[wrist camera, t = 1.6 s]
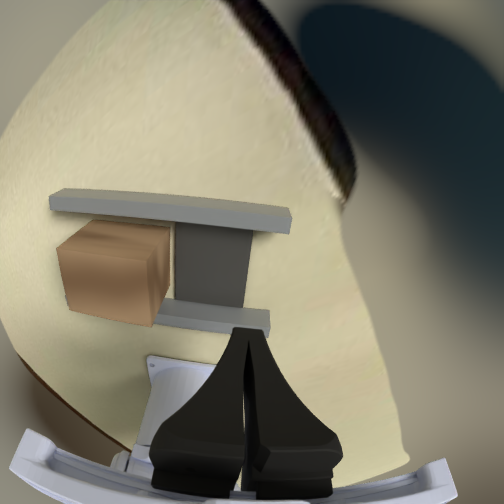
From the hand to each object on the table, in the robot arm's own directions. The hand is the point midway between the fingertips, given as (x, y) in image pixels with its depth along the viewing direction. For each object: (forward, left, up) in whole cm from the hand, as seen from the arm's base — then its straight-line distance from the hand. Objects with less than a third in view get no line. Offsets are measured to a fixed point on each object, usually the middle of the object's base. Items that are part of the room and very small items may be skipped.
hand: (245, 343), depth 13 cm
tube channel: (0, +6, -8) cm, 10 cm away
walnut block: (0, +9, -8) cm, 11 cm away
